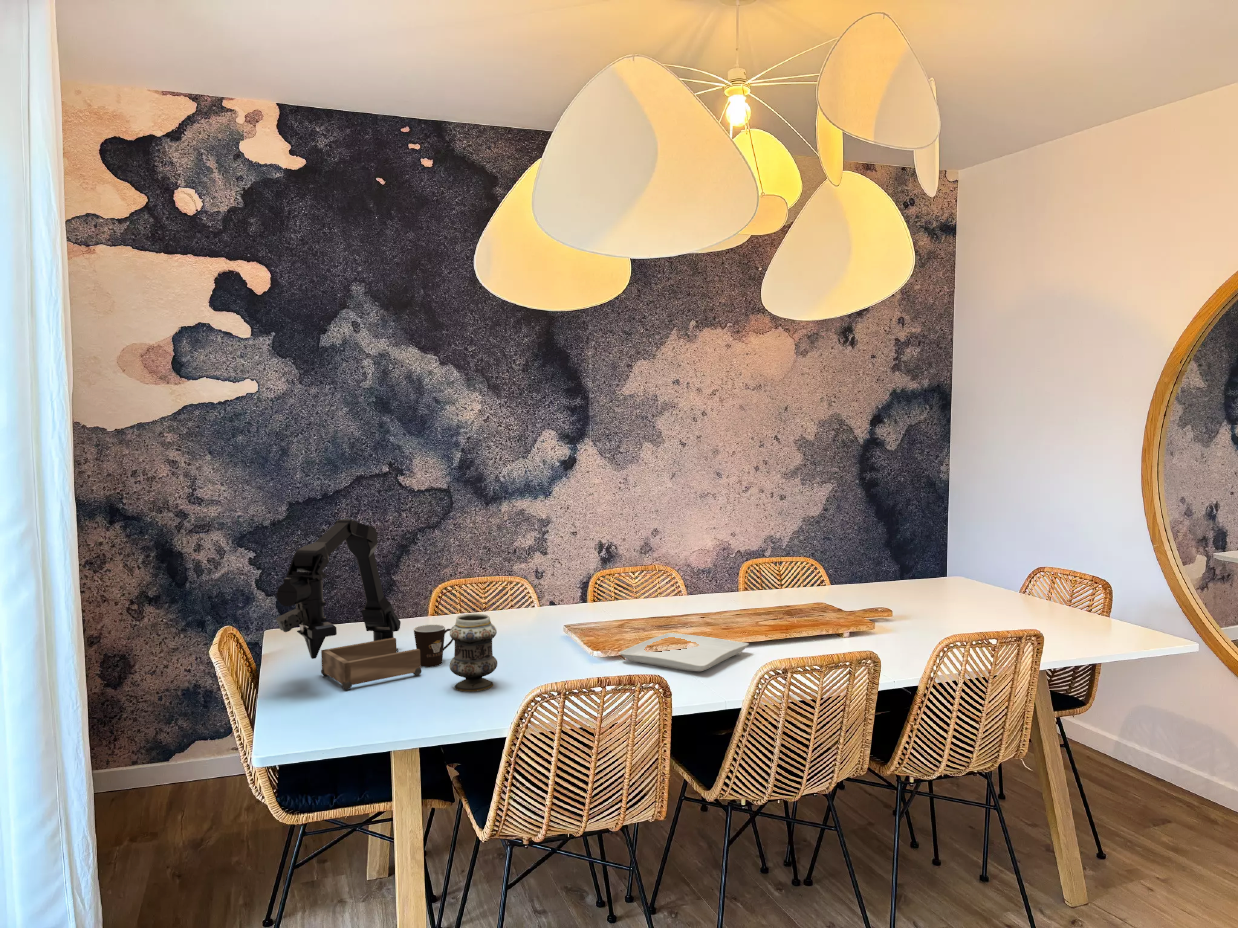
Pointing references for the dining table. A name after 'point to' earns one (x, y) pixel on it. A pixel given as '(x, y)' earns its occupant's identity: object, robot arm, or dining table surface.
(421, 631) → the coffee mug
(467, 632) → the apothecary jar
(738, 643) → the square plate
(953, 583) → the dining table surface
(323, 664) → the caster frame
